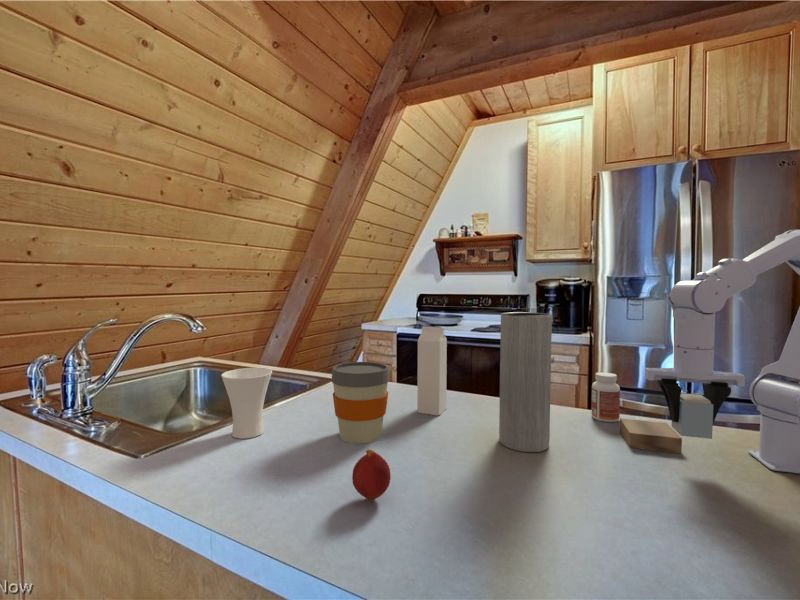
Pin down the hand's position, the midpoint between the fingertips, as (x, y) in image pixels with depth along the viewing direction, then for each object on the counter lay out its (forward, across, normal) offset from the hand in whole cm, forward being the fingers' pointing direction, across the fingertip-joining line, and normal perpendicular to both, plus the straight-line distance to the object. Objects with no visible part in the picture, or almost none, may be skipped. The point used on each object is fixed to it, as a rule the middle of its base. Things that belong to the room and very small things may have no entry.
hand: (691, 422), depth 70 cm
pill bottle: (+9, +10, -24) cm, 27 cm away
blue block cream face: (+2, 0, 0) cm, 2 cm away
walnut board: (+8, +4, -11) cm, 14 cm away
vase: (+9, +29, -2) cm, 30 cm away
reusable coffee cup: (+9, +63, +4) cm, 63 cm away
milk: (+9, +52, -16) cm, 55 cm away
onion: (+8, +51, +28) cm, 59 cm away
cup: (+8, +87, +11) cm, 88 cm away
